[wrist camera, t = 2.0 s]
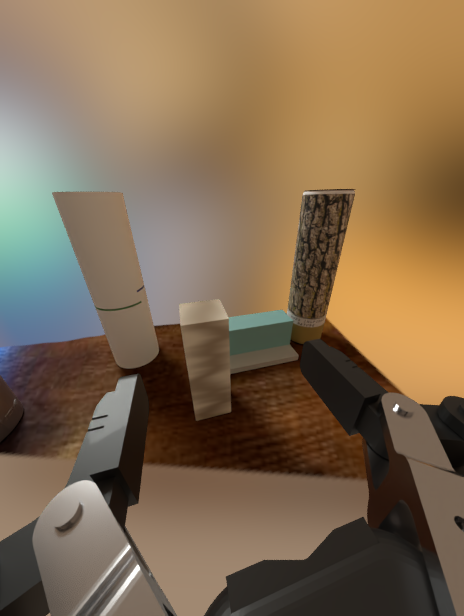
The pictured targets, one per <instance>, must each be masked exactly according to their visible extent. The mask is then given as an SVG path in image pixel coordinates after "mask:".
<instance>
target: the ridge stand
mask: <svg viewBox="0 0 464 616" xmlns="http://www.w3.org/2000/svg"><path fill="white" fill-rule="evenodd" d="M292 326H293V320H292V319H291V318H290V317H289V316H288V315H287V314H286V313H285V312H284V311H283V310H277V311H271V312H264V313H257V314H250V315H243V316H236V317H229V347H230V374H233V373H238V372H242V371H247V370H252V369H257V368H261V367H266V366H271V365H276V364H281V363H285V362H290V361H295V360H298V356H299V355H298V354H297V353H296V351H295V350H294V349H293V348H292V347H291V345H290V339H291V333H292Z"/></svg>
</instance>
